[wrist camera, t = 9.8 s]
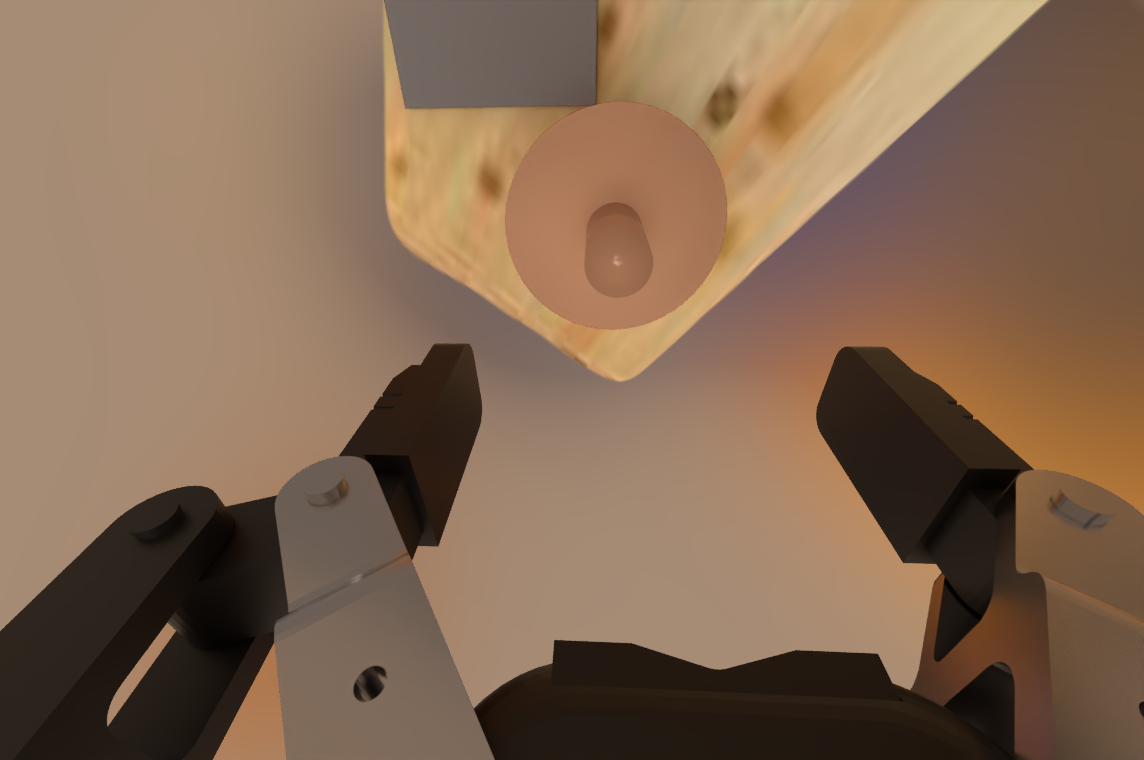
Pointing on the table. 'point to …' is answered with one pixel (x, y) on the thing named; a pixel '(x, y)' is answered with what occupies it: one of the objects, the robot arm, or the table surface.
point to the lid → (616, 215)
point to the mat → (494, 52)
